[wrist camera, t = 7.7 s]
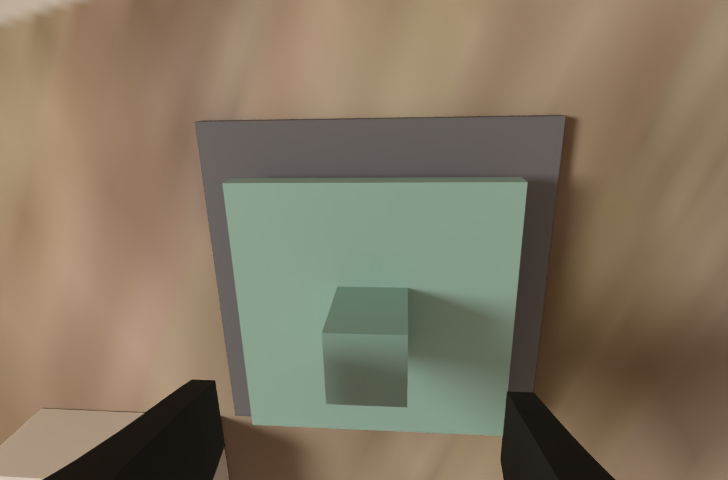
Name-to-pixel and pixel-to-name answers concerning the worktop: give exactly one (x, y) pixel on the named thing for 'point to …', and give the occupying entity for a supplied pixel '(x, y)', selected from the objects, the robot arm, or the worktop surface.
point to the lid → (377, 299)
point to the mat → (390, 160)
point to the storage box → (64, 442)
